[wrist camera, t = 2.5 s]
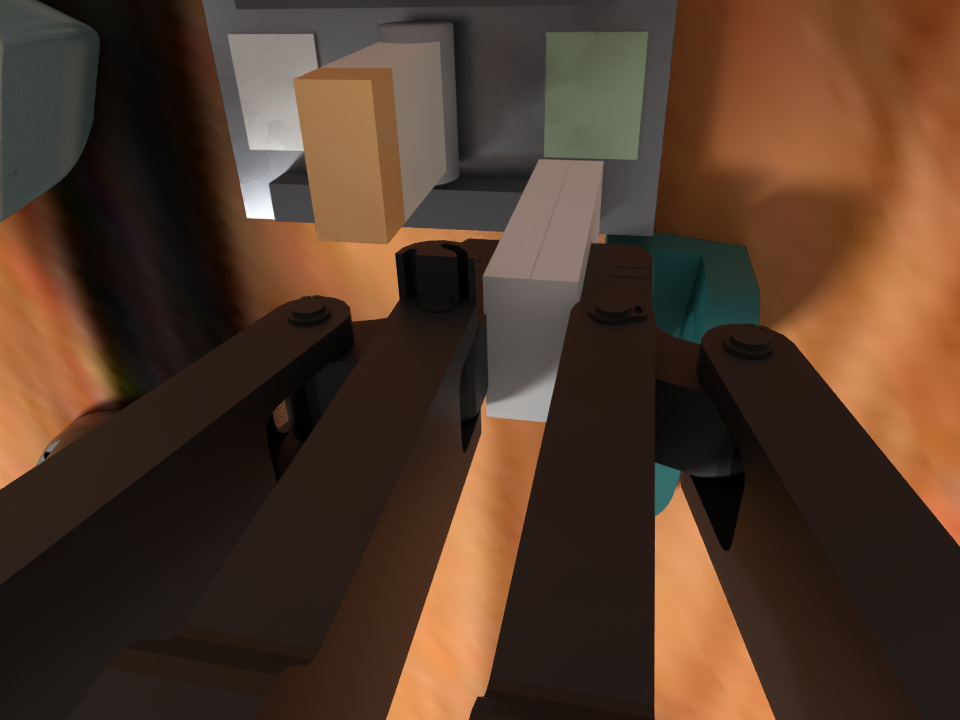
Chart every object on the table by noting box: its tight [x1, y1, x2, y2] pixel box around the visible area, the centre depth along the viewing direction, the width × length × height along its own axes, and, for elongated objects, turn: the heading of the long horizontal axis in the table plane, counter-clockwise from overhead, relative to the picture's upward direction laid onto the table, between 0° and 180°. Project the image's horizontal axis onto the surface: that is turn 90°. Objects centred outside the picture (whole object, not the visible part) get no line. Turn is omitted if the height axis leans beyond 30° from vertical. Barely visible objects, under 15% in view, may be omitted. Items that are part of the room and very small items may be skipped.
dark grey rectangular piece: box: [234, 0, 612, 232], centre depth 30 cm, size 15×11×2 cm
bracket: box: [604, 231, 760, 516], centre depth 37 cm, size 18×7×8 cm, turn 173°
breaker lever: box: [293, 20, 459, 244], centre depth 26 cm, size 3×6×10 cm, turn 1°
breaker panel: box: [202, 0, 678, 236], centre depth 32 cm, size 20×12×3 cm, turn 91°
